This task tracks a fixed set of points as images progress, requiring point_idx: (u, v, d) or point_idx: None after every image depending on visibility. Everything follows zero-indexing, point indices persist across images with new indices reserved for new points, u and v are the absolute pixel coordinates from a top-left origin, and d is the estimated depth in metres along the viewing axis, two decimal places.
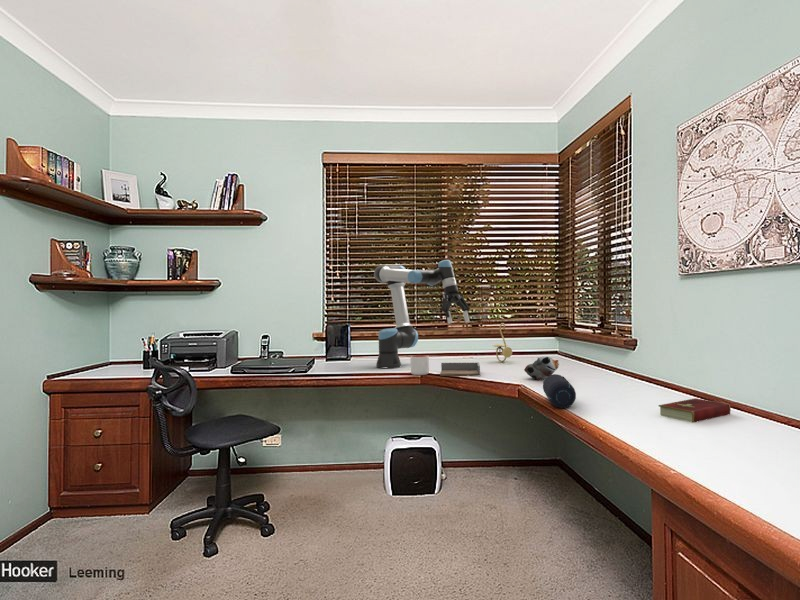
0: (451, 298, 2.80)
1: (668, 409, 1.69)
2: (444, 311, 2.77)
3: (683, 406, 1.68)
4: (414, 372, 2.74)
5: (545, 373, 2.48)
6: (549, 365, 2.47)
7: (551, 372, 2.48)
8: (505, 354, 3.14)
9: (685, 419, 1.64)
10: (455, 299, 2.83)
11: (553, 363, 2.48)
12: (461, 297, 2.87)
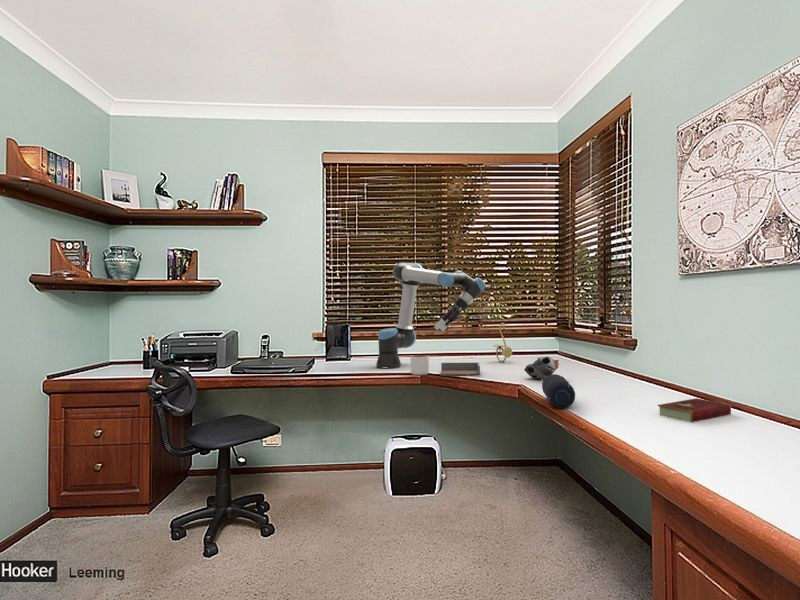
0: None
1: (667, 409, 1.69)
2: (449, 319, 2.71)
3: (682, 406, 1.69)
4: (414, 372, 2.74)
5: (545, 373, 2.48)
6: (549, 365, 2.47)
7: (551, 372, 2.49)
8: (505, 354, 3.14)
9: (684, 419, 1.64)
10: None
11: (553, 363, 2.49)
12: None
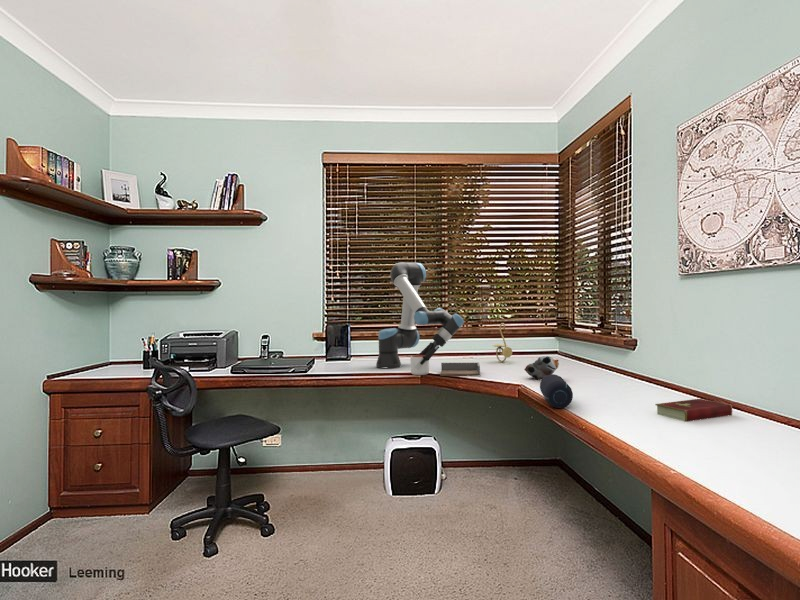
0: None
1: (664, 408, 1.70)
2: (424, 358, 2.70)
3: (680, 405, 1.69)
4: (414, 372, 2.74)
5: (546, 373, 2.49)
6: (550, 365, 2.48)
7: (552, 371, 2.50)
8: (505, 354, 3.14)
9: (679, 418, 1.65)
10: None
11: (553, 363, 2.50)
12: None
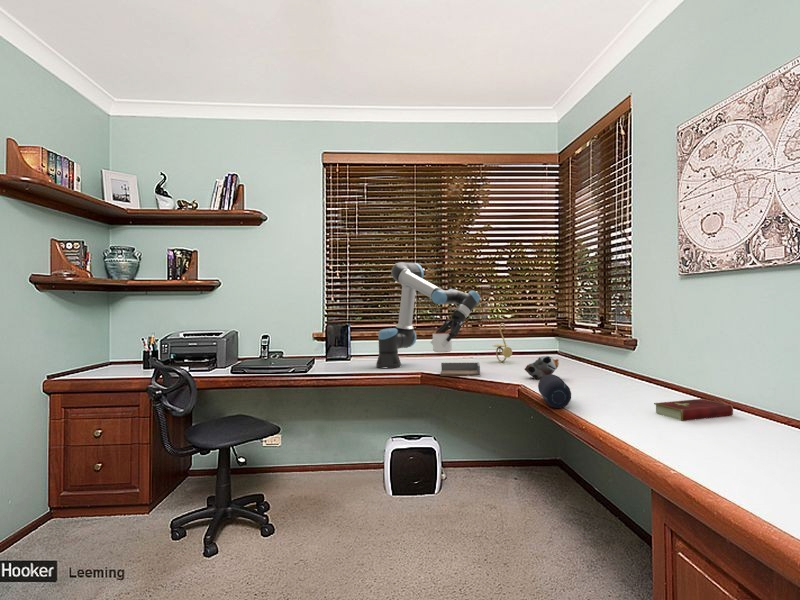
0: None
1: (662, 407, 1.72)
2: (451, 335, 2.68)
3: (678, 405, 1.70)
4: (440, 349, 2.69)
5: (546, 372, 2.50)
6: (550, 364, 2.49)
7: (552, 371, 2.51)
8: (505, 354, 3.14)
9: (675, 417, 1.66)
10: None
11: (554, 362, 2.51)
12: (448, 324, 2.82)
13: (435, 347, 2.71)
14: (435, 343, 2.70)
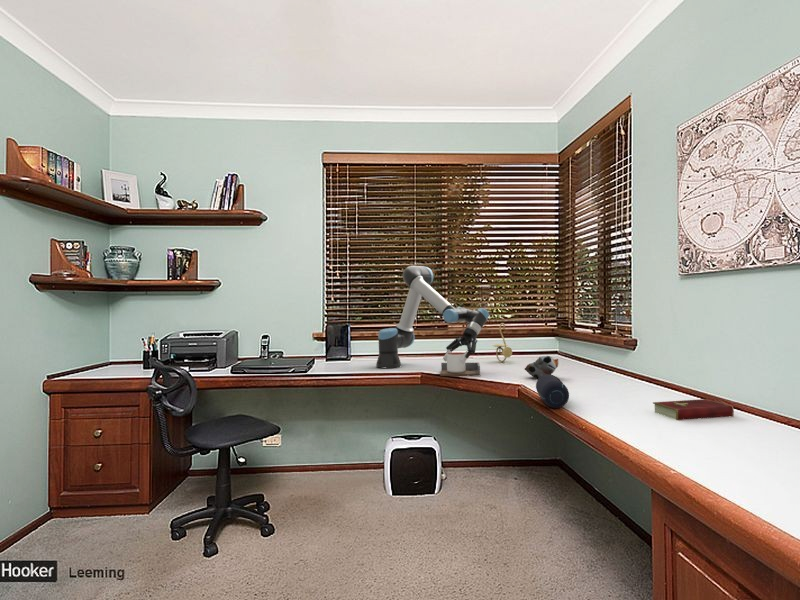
0: (470, 344, 2.77)
1: (660, 406, 1.73)
2: (470, 351, 2.68)
3: (676, 404, 1.71)
4: (455, 370, 2.69)
5: (546, 372, 2.51)
6: (550, 364, 2.50)
7: (552, 371, 2.52)
8: (505, 354, 3.14)
9: (671, 416, 1.67)
10: None
11: (554, 362, 2.52)
12: None
13: (450, 368, 2.70)
14: (450, 364, 2.70)
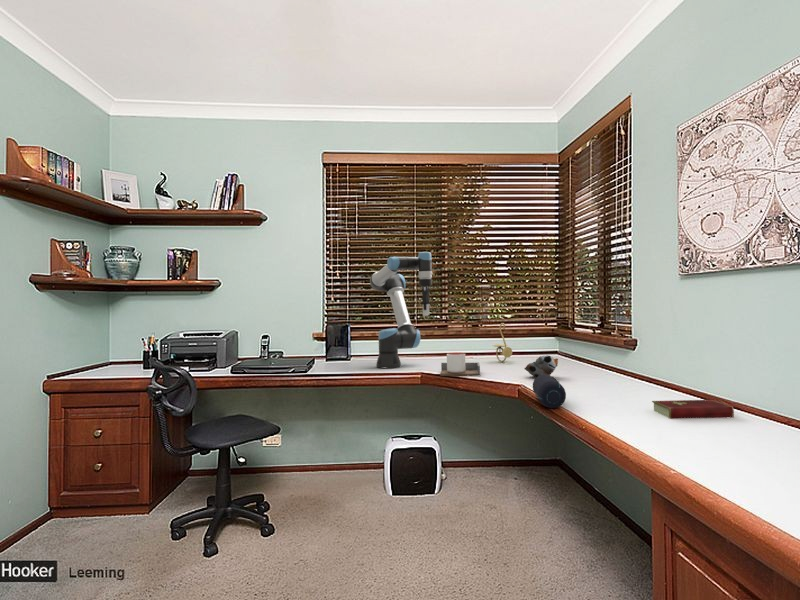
0: (427, 291, 2.89)
1: (657, 405, 1.75)
2: (423, 303, 2.83)
3: (673, 403, 1.73)
4: (455, 370, 2.69)
5: (547, 371, 2.53)
6: (551, 363, 2.52)
7: (552, 370, 2.54)
8: (505, 354, 3.14)
9: (666, 415, 1.69)
10: (427, 292, 2.92)
11: (554, 361, 2.54)
12: None
13: (450, 368, 2.70)
14: (450, 364, 2.70)
